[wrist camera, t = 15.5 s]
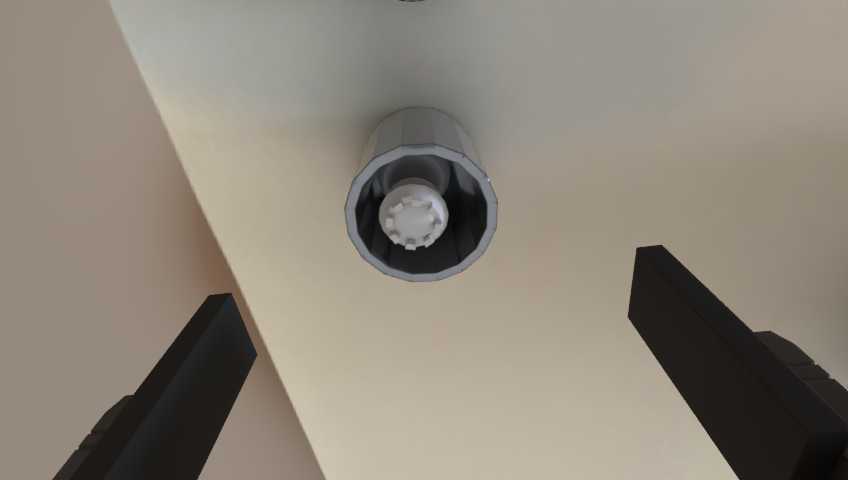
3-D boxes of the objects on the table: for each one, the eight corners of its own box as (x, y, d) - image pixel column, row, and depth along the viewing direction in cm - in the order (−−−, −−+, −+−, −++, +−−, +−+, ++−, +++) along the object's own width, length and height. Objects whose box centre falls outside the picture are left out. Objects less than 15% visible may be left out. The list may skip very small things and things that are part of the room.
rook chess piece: (398, 212, 27) (393, 281, 20) (364, 151, 25) (344, 205, 18) (461, 183, 26) (478, 245, 19) (430, 118, 24) (437, 161, 17)
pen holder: (415, 80, 24) (416, 108, 17) (498, 160, 26) (528, 214, 19) (341, 167, 26) (314, 223, 19) (422, 233, 29) (425, 305, 22)
